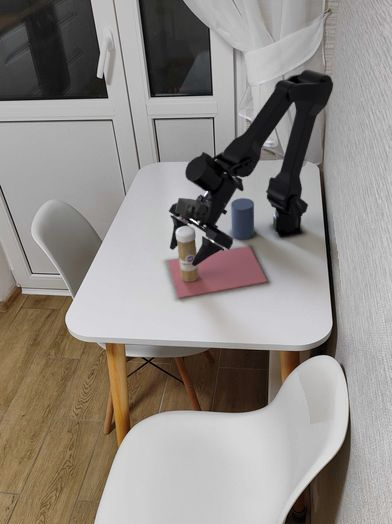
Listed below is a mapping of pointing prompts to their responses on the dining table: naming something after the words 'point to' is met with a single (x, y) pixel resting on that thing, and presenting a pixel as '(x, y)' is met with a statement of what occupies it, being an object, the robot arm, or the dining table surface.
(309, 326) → the dining table surface
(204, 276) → the rose mat
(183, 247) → the sprinkles bottle
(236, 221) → the blue canister
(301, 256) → the dining table surface
